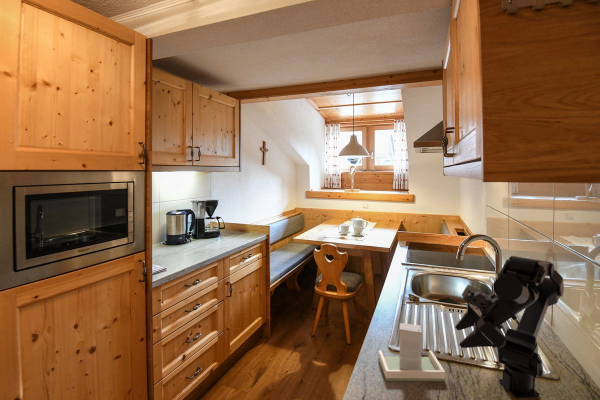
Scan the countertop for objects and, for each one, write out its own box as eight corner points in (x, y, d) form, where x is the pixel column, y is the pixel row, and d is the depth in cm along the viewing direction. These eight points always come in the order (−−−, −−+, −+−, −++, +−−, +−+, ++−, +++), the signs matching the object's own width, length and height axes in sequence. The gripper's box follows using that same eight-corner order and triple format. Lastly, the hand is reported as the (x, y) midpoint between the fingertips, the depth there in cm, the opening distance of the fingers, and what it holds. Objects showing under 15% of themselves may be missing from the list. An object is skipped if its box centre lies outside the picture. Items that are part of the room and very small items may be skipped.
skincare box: (420, 364, 93) (421, 325, 92) (421, 373, 89) (422, 332, 88) (399, 360, 95) (399, 322, 94) (398, 368, 91) (399, 329, 90)
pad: (431, 359, 97) (431, 350, 96) (444, 381, 87) (445, 371, 86) (378, 358, 97) (378, 350, 97) (386, 380, 87) (386, 371, 87)
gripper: (477, 267, 89) (433, 299, 94) (492, 291, 72) (437, 329, 77) (508, 297, 87) (462, 329, 92) (531, 330, 70) (473, 367, 75)
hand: (458, 337), depth 84 cm, fingers open, 9 cm apart
